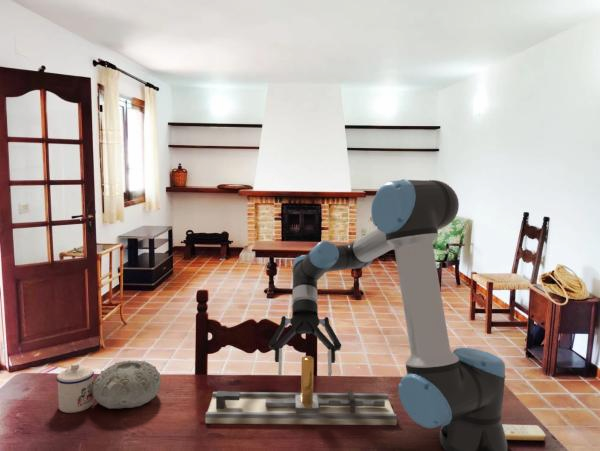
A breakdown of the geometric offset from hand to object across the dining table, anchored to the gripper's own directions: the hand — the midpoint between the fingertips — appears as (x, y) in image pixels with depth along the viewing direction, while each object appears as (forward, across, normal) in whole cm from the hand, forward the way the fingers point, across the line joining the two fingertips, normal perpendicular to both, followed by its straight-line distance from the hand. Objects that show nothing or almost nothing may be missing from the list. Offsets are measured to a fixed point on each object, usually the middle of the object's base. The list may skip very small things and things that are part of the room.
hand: (304, 373), depth 127 cm
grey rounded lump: (+5, +49, -9) cm, 50 cm away
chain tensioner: (+7, -6, -4) cm, 10 cm away
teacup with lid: (+6, +62, -8) cm, 62 cm away
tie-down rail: (+8, +1, -5) cm, 10 cm away
